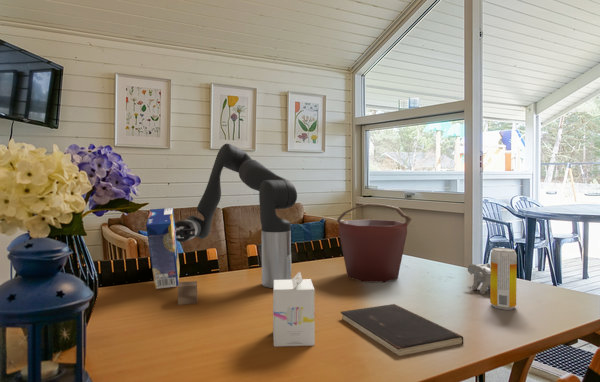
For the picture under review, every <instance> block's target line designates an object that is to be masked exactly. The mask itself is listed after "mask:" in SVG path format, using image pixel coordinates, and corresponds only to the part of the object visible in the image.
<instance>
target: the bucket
mask: <svg viewBox="0 0 600 382" xmlns="http://www.w3.org/2000/svg"><path fill="white" fill-rule="evenodd" d="M370 206H373V207H382V208H388V209H392V210H394V211H396V212H397V214H399V215H400V216H401V217H402V218H404V221H403V222H402V221H399V220H389V219H388V220H387V219H371V218H369V219H351V220H350V219H348V220H347V219H346V220H344V221H342V219H343V217H345V215H346V214H348V213H349V212H350V213H351V212H352V211H353V210H357V209H358V208H362V207H370ZM336 221H337V223H338V234H339V235H338V236H339V239H340V245H341V251H342V255H343V259H344V264H345V265H344V266H345V270H346V275H347V278H349V277H350V278H349V279H352V278H353V279H352V280H354V281H355V280H356V281H358V282H362V283H363V282H365V283H387V282H390V281H395V280H397V279H398V278H399V274H400V270H401V265H402V264H401V263H402V260H403V254H404V249H405V244H406V239H407V235H408V225H409V224H410V223H411V221H412V218H411V217H410V216H409V215H407V214H405V213H404V212H403V210H401V209H400V207H397V206H393V205H388V204H384V203H382V204H381V203H363V204H360V205H357V206H354V207H352V208H350V209H347V210H346V211H343V212H342V214H341V215H339V216H338V218H337V219H336Z"/></svg>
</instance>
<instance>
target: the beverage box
mask: <svg viewBox="0 0 600 382" xmlns="http://www.w3.org/2000/svg"><path fill="white" fill-rule="evenodd" d="M174 212H175V211H174V208H173V207H167V208H166V207H163V208H155V209H154V208H152V209H151V208H150V209H149V212H148V216H147V221H146V225H145V227H146V234H147V235H146V236H147V241H148V242H147V243H148V246H149V248H148V249H149V254H150V262H151V269H152V270H151V271H152V276H153V283H154V289H155V290H158V289H164V288H165V289H166V288H175V287H178V283H179V282H180V281H179V278H180V258H179V250H178V249H179V248H178V241H177V240H176V231H175V223H176V222H175V214H174Z"/></svg>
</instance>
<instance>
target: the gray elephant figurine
mask: <svg viewBox="0 0 600 382" xmlns="http://www.w3.org/2000/svg"><path fill="white" fill-rule="evenodd" d="M467 272H468V273H469V274H470V276H471V275H473V284H472V285H471V288H472V290H474V291H477V290H478V288H479V287H480V288H479V293H480V294H481V295H485V294H486V290H487V289H489V290H490V277H491V263H485V264H484V263H478V264H474V263H471V264H469V265H468V267H467Z"/></svg>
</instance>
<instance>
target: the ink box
mask: <svg viewBox="0 0 600 382" xmlns="http://www.w3.org/2000/svg"><path fill="white" fill-rule="evenodd" d="M302 277H303V276H302V272H301V271H299V272H297V273H296V275H295V276H293V277H292V278H291V279H290V280H274V283H273V288H272V290H273V291H272V293H273V294H272V334H273V335H272V338H273V347H300V346H301V347H303V346H305V347H306V346H308V347H309V346H315V343H316V342H315V341H316V340H315V287H314V284H313V282H312V279H311V278H309V279H307V278H302Z"/></svg>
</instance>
